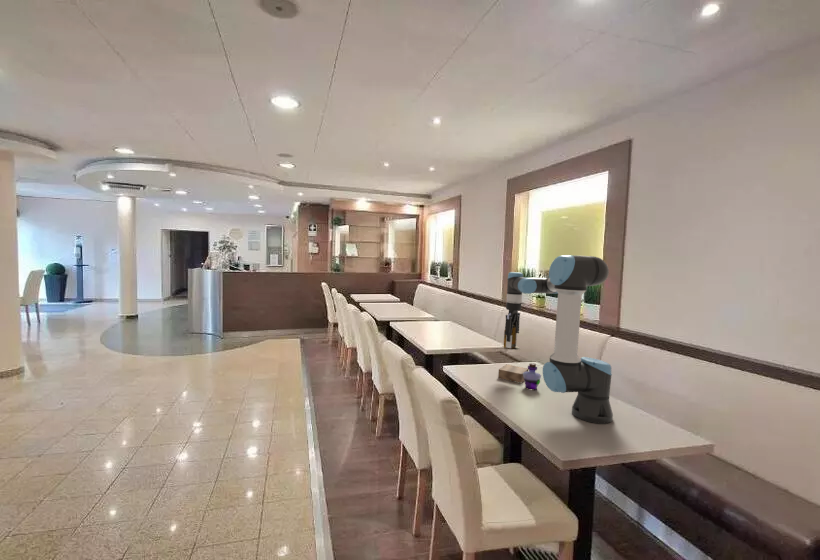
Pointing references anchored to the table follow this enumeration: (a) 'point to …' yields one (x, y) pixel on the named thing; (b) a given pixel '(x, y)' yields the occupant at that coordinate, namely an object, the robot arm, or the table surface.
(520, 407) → the table surface
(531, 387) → the potion bottle
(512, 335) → the condiment
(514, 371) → the walnut block
